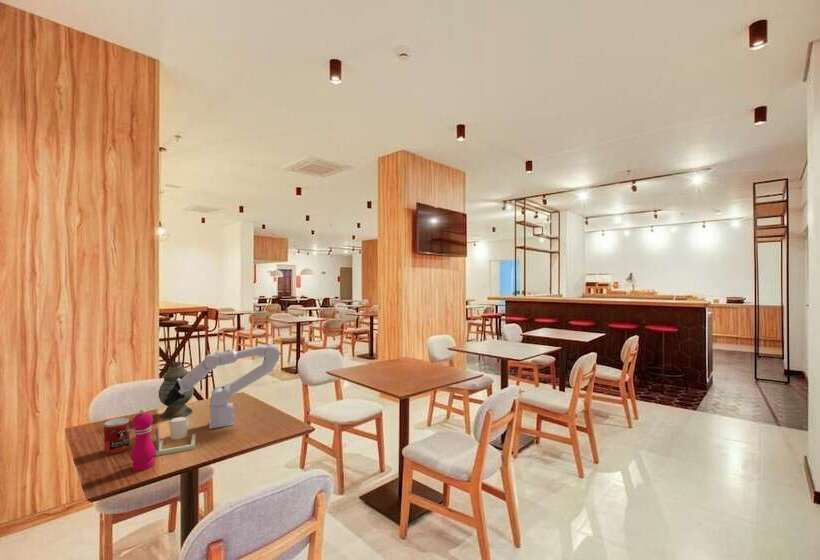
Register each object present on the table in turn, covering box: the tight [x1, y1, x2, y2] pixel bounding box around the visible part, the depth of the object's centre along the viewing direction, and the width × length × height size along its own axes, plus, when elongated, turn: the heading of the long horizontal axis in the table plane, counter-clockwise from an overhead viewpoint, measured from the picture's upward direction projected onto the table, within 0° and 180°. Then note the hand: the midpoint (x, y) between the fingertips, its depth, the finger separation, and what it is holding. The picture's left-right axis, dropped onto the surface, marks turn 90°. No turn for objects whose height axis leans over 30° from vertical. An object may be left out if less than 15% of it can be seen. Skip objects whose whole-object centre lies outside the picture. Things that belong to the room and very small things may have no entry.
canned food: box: [103, 417, 130, 455], centre depth 149 cm, size 8×8×11 cm
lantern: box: [158, 361, 195, 421], centre depth 187 cm, size 14×14×25 cm
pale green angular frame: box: [150, 427, 197, 457], centre depth 151 cm, size 15×12×10 cm
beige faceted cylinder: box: [168, 416, 189, 440], centre depth 161 cm, size 7×7×7 cm
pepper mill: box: [129, 408, 157, 472], centre depth 136 cm, size 7×7×20 cm
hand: (167, 400), depth 165 cm, fingers open, 7 cm apart
